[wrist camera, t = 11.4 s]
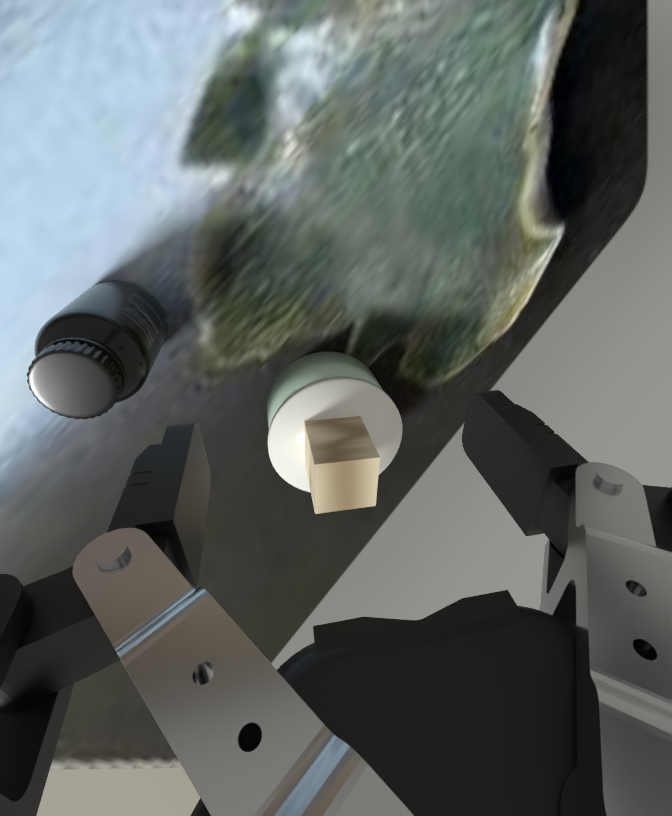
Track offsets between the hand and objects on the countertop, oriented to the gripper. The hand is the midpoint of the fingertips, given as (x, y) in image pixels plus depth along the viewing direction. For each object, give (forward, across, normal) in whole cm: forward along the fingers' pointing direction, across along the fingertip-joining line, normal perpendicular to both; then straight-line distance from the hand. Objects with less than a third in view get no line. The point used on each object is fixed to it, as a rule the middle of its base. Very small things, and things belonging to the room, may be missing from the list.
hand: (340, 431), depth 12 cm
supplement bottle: (+26, +14, +4) cm, 30 cm away
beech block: (+19, -3, +15) cm, 24 cm away
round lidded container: (+26, -3, +15) cm, 30 cm away
